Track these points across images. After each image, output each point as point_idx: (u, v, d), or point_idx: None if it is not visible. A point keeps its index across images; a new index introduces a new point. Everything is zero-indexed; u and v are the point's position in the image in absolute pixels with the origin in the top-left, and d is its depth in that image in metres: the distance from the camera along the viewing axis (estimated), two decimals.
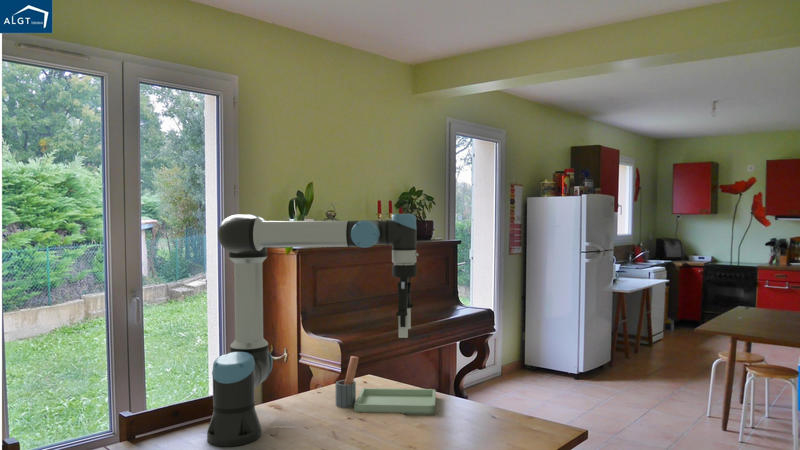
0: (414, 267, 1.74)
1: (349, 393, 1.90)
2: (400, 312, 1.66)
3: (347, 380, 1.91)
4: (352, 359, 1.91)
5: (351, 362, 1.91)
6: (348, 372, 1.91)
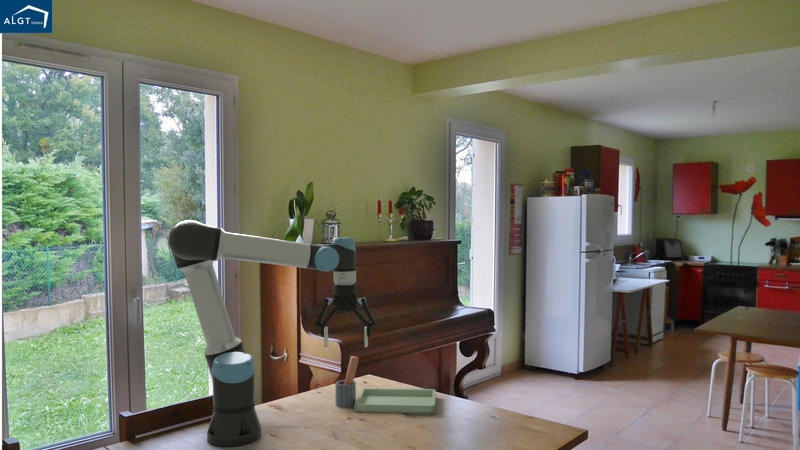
0: (337, 287, 1.89)
1: (349, 393, 1.90)
2: None
3: (347, 380, 1.91)
4: (352, 359, 1.91)
5: (351, 362, 1.91)
6: (348, 372, 1.91)
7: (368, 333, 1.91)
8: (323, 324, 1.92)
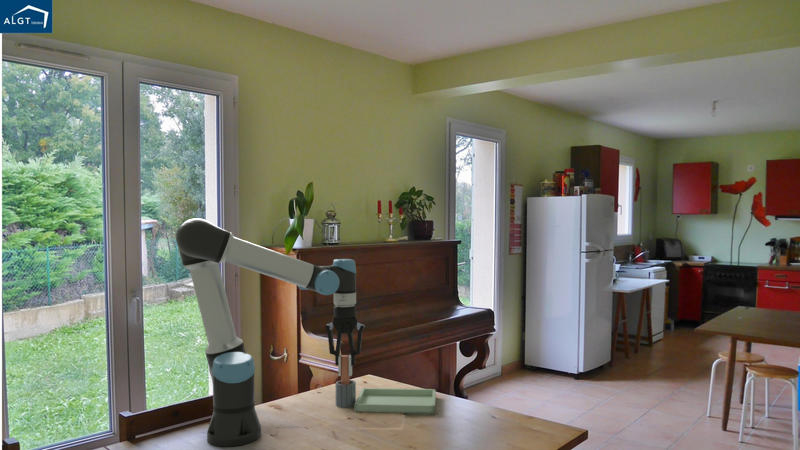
0: (337, 309, 1.89)
1: (349, 393, 1.90)
2: None
3: (343, 380, 1.91)
4: (343, 358, 1.91)
5: (342, 361, 1.91)
6: (342, 372, 1.92)
7: (352, 362, 1.92)
8: (336, 352, 1.91)
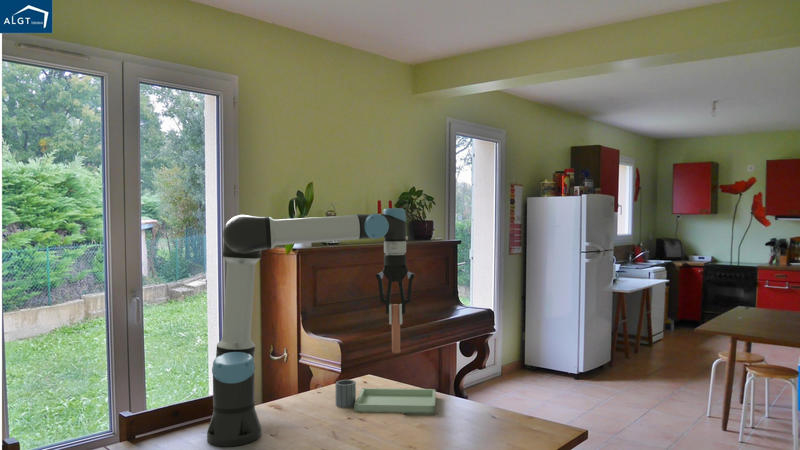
0: (388, 257, 1.90)
1: (349, 393, 1.90)
2: None
3: (394, 328, 1.92)
4: (393, 306, 1.92)
5: (393, 310, 1.92)
6: (393, 320, 1.92)
7: (403, 310, 1.92)
8: (387, 301, 1.92)
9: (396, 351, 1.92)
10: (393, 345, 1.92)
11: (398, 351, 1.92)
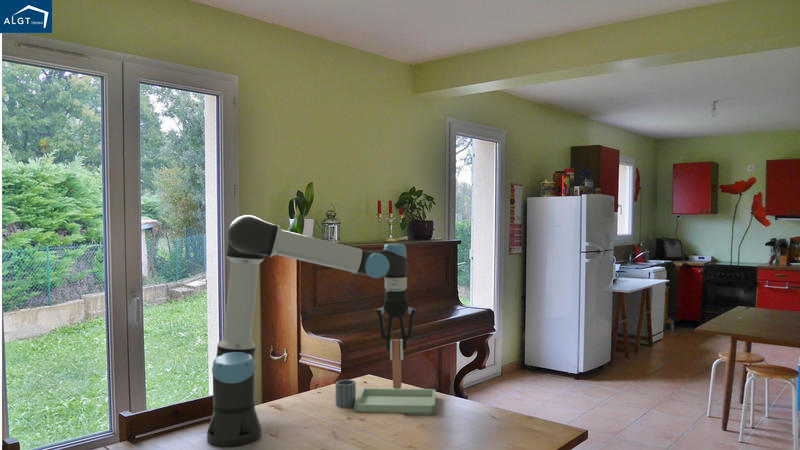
0: (389, 293, 1.90)
1: (349, 393, 1.90)
2: None
3: (395, 363, 1.92)
4: (394, 342, 1.92)
5: (394, 345, 1.92)
6: (394, 356, 1.92)
7: (404, 346, 1.92)
8: (388, 336, 1.92)
9: (397, 387, 1.92)
10: (394, 381, 1.92)
11: (399, 387, 1.92)
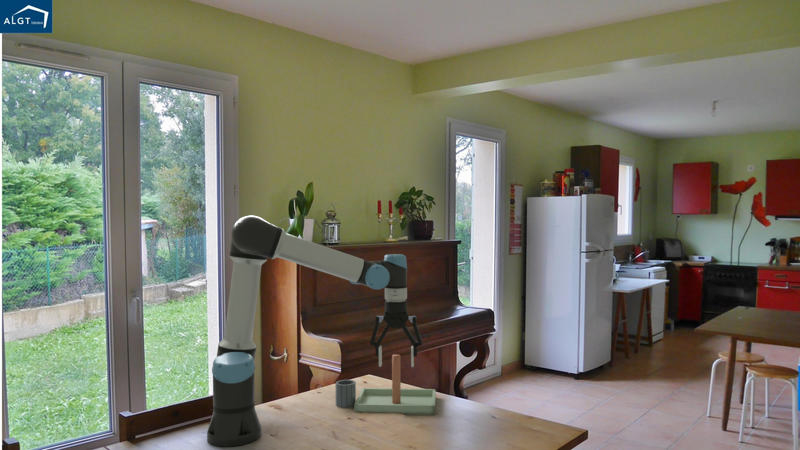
0: (389, 304, 1.90)
1: (349, 393, 1.90)
2: None
3: (395, 379, 1.92)
4: (394, 357, 1.92)
5: (394, 360, 1.92)
6: (393, 371, 1.92)
7: (415, 353, 1.92)
8: (377, 343, 1.92)
9: (396, 402, 1.92)
10: (393, 396, 1.92)
11: (398, 402, 1.92)
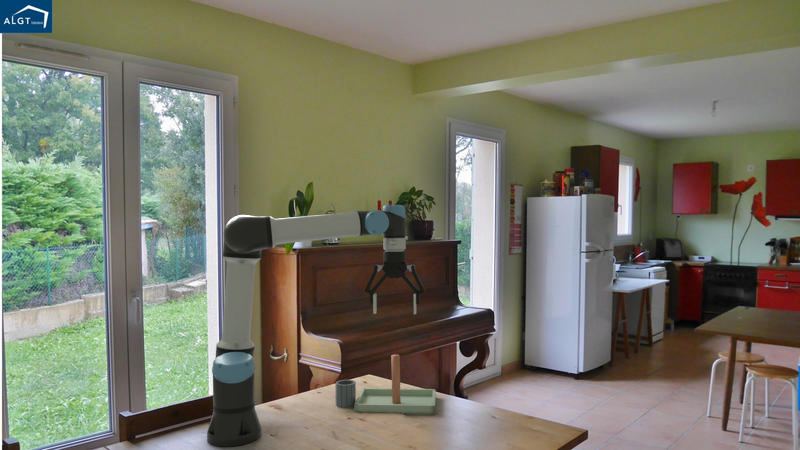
0: (387, 253, 1.90)
1: (349, 393, 1.90)
2: None
3: (394, 379, 1.92)
4: (393, 357, 1.92)
5: (393, 361, 1.92)
6: (393, 371, 1.92)
7: (417, 300, 1.92)
8: (372, 291, 1.93)
9: (396, 402, 1.92)
10: (393, 396, 1.92)
11: (398, 402, 1.92)
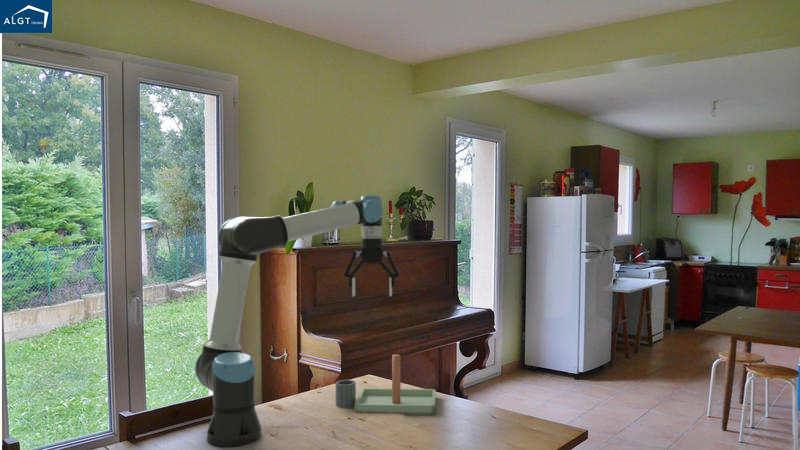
0: (365, 240, 2.06)
1: (349, 393, 1.90)
2: None
3: (395, 379, 1.92)
4: (394, 357, 1.92)
5: (394, 360, 1.92)
6: (393, 371, 1.92)
7: (392, 283, 2.08)
8: (351, 275, 2.09)
9: (396, 402, 1.92)
10: (393, 396, 1.92)
11: (398, 402, 1.92)
